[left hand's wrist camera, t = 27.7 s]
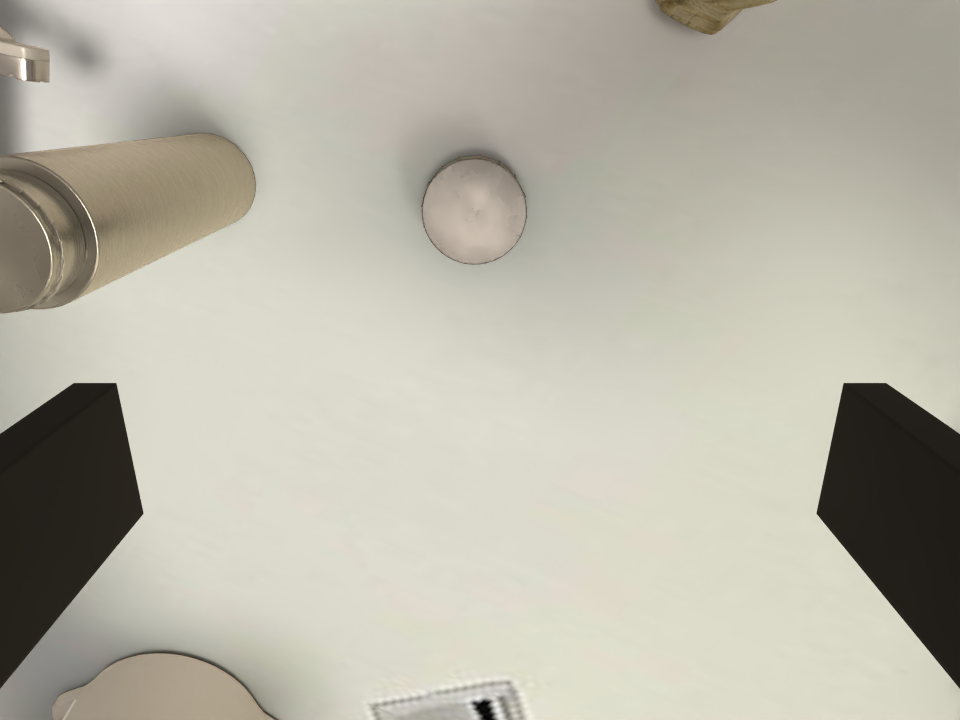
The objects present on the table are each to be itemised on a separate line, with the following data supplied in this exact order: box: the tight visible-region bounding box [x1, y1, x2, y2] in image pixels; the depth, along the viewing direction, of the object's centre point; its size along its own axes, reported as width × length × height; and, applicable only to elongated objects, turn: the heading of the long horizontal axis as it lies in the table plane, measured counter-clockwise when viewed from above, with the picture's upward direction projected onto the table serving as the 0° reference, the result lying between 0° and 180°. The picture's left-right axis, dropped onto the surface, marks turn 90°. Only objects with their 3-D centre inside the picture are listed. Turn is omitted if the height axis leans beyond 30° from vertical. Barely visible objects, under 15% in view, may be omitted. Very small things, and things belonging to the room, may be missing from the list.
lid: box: [421, 155, 527, 264], centre depth 40 cm, size 6×6×2 cm
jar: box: [0, 133, 255, 313], centre depth 31 cm, size 5×5×20 cm
